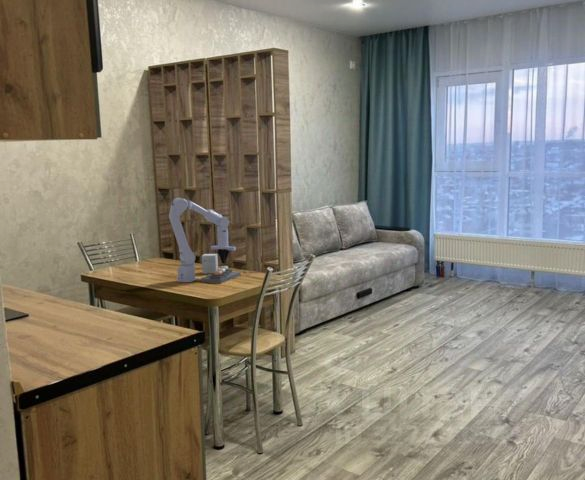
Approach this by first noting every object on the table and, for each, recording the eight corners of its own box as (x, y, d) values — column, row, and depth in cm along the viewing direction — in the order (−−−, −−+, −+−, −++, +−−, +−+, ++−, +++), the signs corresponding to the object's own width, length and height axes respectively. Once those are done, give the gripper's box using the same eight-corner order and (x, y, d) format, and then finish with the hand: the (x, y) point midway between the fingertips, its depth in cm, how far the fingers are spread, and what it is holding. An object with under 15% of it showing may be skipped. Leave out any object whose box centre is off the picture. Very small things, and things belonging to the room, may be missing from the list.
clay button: (219, 275, 297) (219, 272, 297) (212, 275, 299) (212, 271, 298) (223, 274, 301) (223, 270, 301) (216, 273, 303) (216, 270, 302)
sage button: (225, 270, 310) (225, 267, 310) (218, 270, 312) (218, 267, 312) (229, 269, 314) (229, 266, 314) (222, 269, 316) (222, 265, 316)
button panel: (221, 283, 295) (220, 277, 295) (201, 281, 300) (200, 275, 299) (240, 275, 314) (240, 269, 314) (221, 274, 319) (221, 268, 318)
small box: (218, 271, 327) (217, 253, 326) (216, 273, 322) (215, 255, 320) (204, 271, 328) (204, 253, 327) (202, 273, 322) (201, 255, 321)
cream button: (222, 273, 304) (222, 269, 303) (215, 272, 305) (215, 269, 305) (226, 271, 308) (226, 268, 307) (219, 271, 309) (219, 267, 309)
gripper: (238, 237, 312) (239, 262, 313) (215, 237, 317) (216, 261, 319) (231, 239, 305) (232, 264, 307) (208, 238, 311) (209, 263, 313)
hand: (223, 263), depth 313 cm, fingers closed
